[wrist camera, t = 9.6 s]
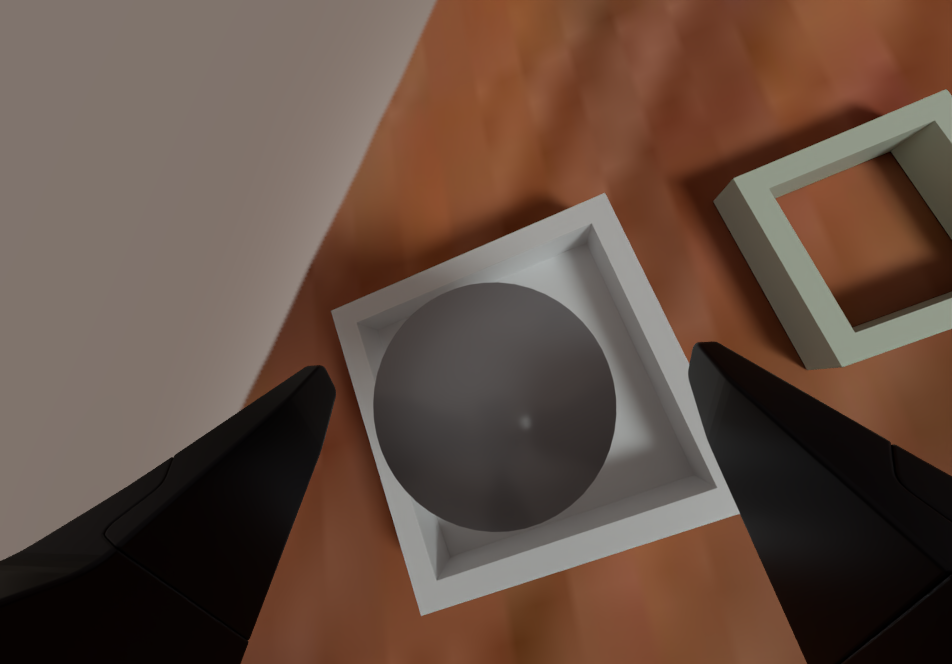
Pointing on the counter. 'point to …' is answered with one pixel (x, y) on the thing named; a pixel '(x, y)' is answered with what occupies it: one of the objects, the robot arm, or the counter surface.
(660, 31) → the counter surface
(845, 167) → the holder ring
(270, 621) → the counter surface
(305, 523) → the counter surface
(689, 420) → the parts tray
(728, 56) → the counter surface
